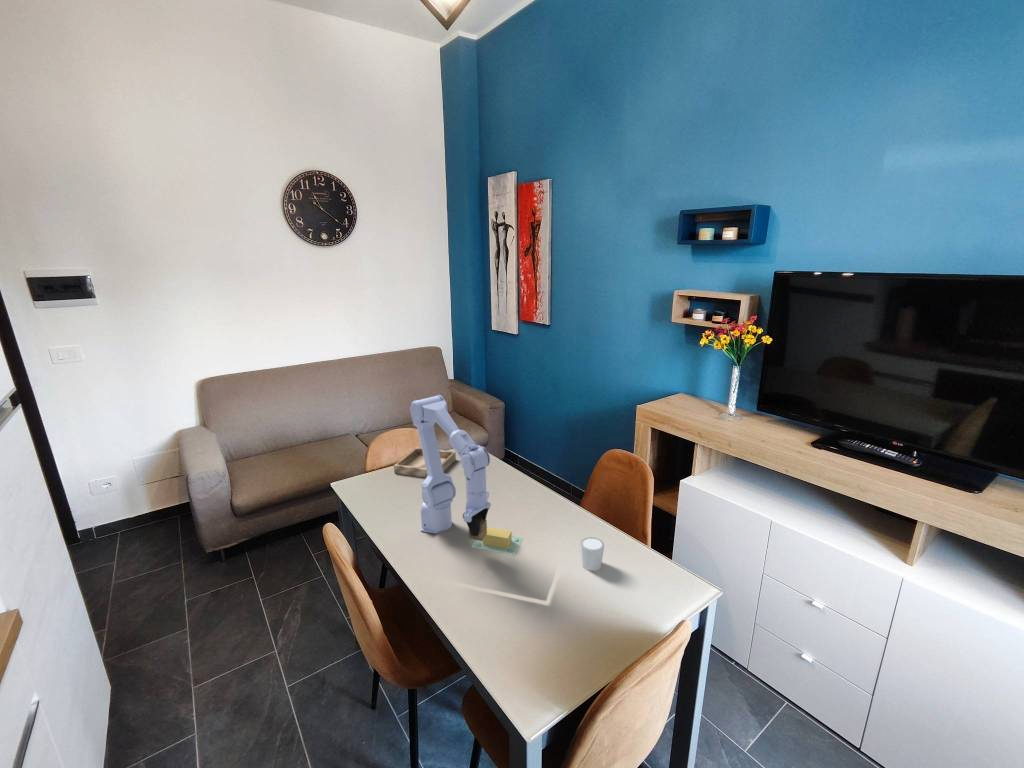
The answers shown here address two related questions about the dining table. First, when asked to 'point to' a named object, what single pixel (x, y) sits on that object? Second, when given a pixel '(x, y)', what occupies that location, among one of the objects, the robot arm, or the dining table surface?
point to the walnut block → (480, 531)
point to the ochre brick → (498, 537)
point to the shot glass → (591, 553)
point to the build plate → (511, 549)
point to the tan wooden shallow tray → (421, 463)
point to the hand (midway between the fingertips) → (477, 530)
